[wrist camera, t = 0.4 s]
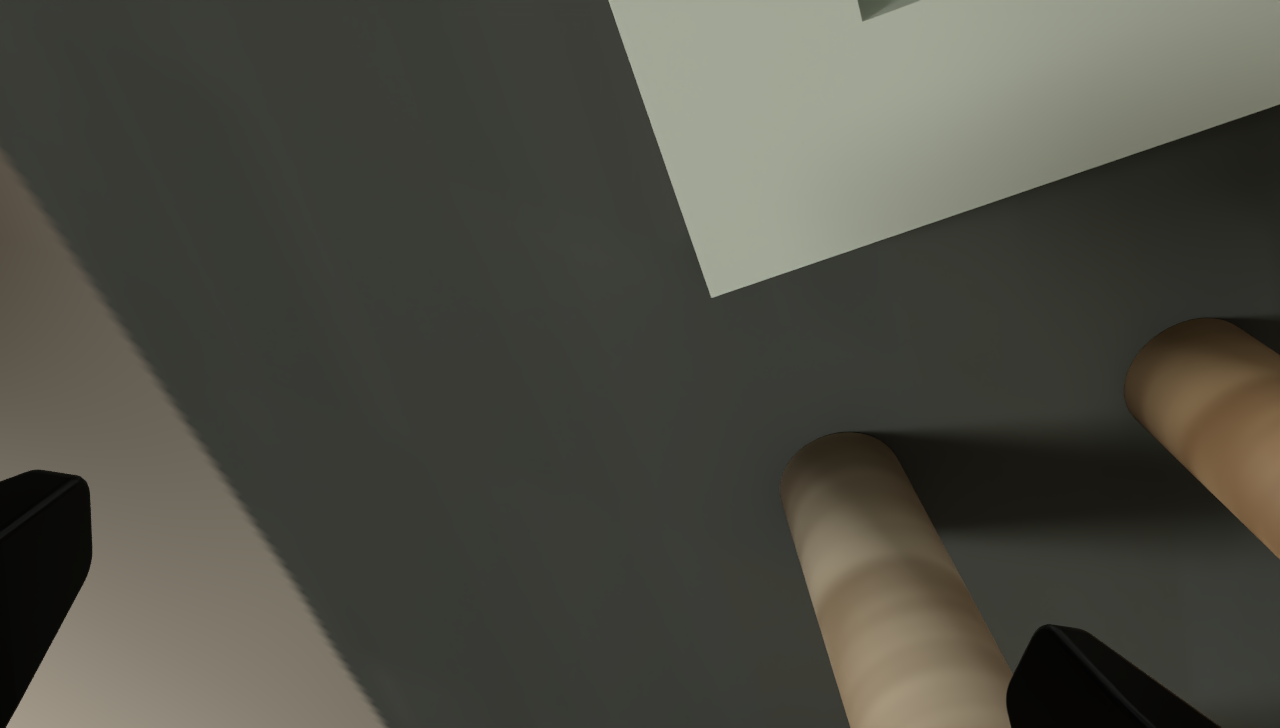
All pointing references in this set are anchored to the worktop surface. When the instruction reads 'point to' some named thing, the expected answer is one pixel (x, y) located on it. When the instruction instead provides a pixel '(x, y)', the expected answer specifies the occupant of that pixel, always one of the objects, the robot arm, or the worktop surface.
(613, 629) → the worktop surface
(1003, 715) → the long dowel
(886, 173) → the hole block
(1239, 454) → the short dowel
